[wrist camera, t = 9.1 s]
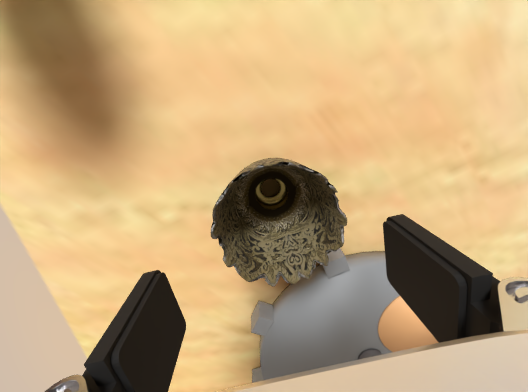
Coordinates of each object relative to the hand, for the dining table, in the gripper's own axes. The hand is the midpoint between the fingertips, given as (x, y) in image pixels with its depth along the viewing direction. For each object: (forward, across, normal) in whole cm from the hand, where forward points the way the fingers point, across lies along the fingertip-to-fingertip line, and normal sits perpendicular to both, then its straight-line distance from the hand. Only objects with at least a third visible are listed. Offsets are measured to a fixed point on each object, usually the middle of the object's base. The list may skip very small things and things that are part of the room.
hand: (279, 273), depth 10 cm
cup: (+12, -1, 0) cm, 12 cm away
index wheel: (+11, -7, +19) cm, 23 cm away
